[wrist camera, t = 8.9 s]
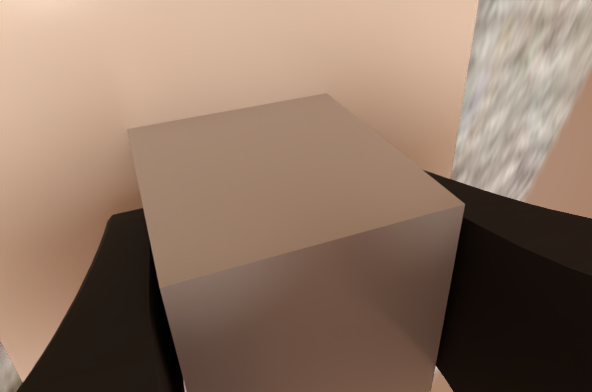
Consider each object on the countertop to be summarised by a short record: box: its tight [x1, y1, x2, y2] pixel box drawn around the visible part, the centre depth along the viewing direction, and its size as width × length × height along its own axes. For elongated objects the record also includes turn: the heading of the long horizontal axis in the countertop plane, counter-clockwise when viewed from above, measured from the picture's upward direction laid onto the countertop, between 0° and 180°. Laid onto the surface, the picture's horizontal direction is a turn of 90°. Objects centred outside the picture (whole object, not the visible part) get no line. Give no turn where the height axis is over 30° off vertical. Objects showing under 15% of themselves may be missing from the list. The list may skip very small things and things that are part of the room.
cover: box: [0, 0, 479, 392], centre depth 9 cm, size 11×11×6 cm
